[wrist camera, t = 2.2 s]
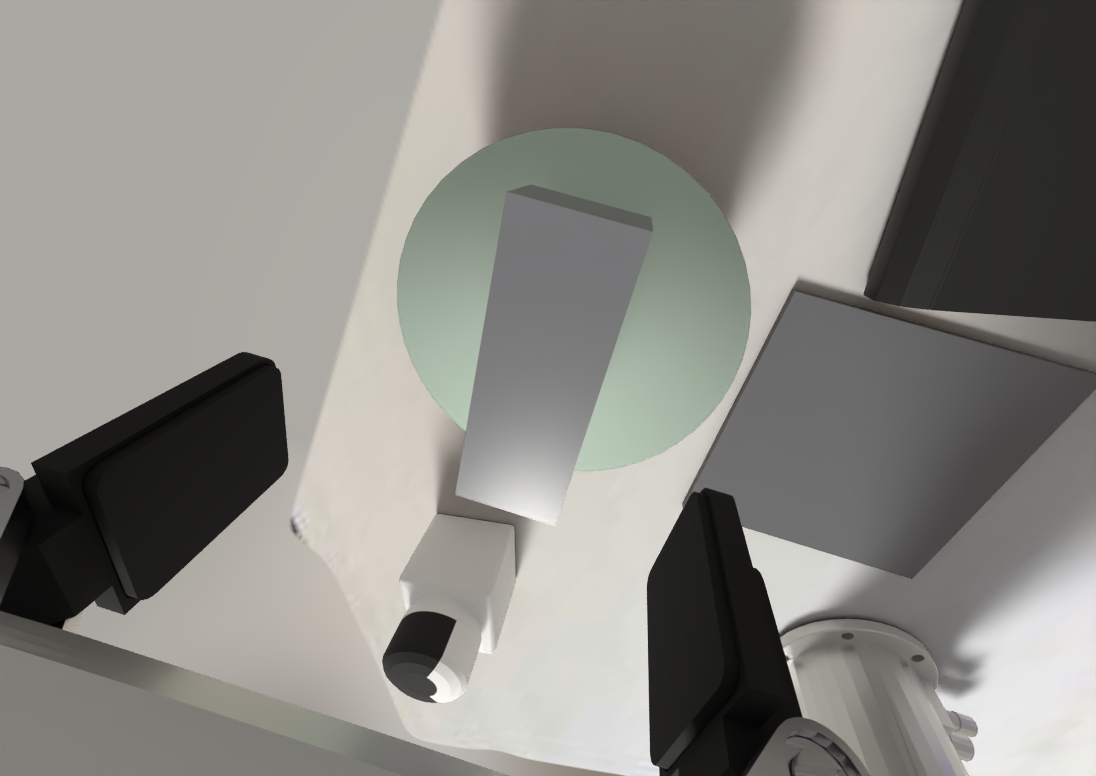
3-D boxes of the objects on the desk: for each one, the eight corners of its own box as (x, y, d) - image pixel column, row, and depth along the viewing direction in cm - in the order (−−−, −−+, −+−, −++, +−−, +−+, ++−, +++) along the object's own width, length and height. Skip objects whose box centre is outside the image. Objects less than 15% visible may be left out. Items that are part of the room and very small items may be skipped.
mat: (1098, 373, 25) (1106, 377, 24) (908, 573, 33) (911, 578, 33) (792, 289, 26) (795, 291, 25) (682, 503, 34) (682, 508, 34)
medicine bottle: (443, 568, 43) (378, 703, 32) (435, 511, 39) (360, 641, 29) (516, 581, 42) (473, 725, 31) (515, 523, 38) (467, 663, 28)
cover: (813, 187, 17) (912, 207, 10) (668, 488, 24) (677, 603, 18) (427, 85, 17) (310, 48, 11) (401, 406, 25) (322, 490, 19)
